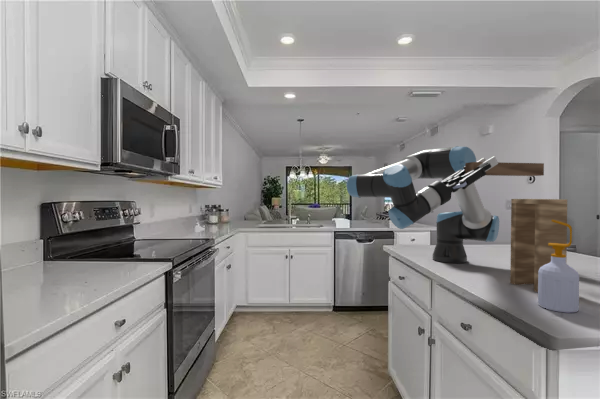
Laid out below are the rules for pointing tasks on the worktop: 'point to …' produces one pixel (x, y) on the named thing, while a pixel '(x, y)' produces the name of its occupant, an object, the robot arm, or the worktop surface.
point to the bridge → (535, 236)
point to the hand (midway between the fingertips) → (490, 160)
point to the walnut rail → (510, 169)
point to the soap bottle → (558, 281)
